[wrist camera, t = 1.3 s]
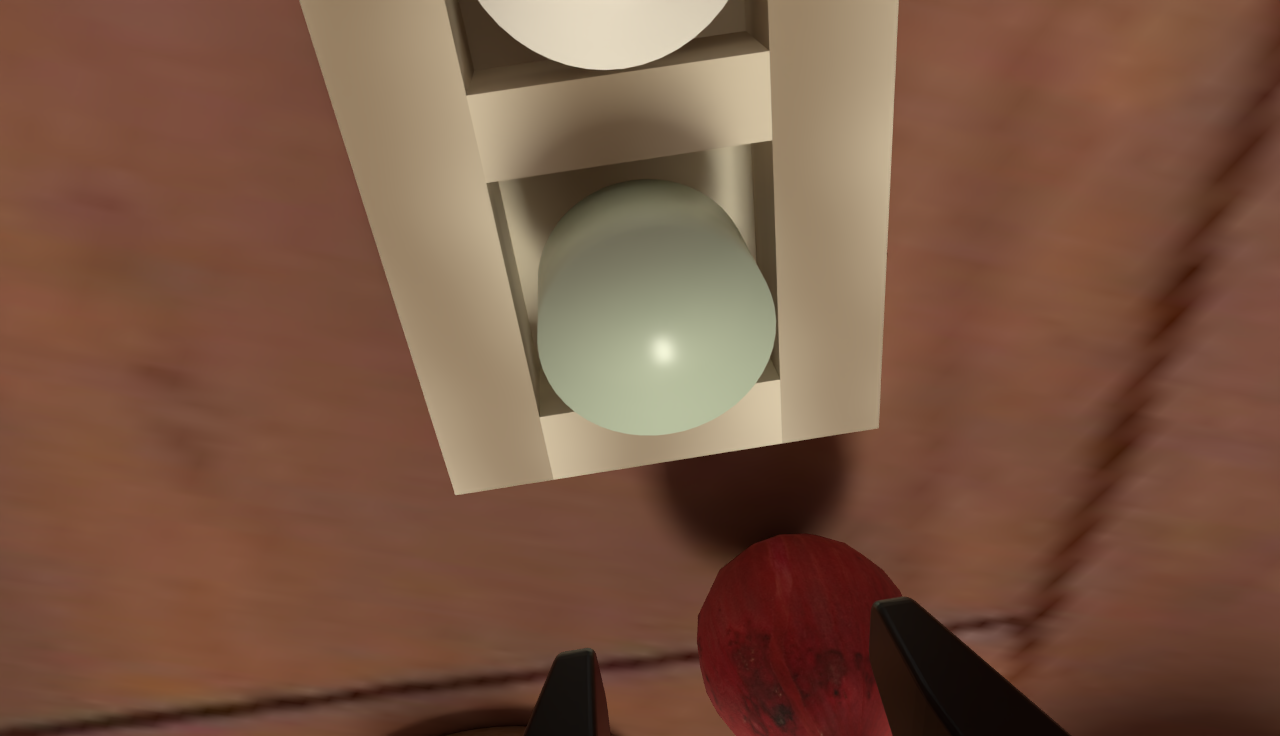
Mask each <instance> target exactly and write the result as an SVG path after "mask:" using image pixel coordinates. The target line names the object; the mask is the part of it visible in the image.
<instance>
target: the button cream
mask: <svg viewBox="0 0 1280 736" xmlns="http://www.w3.org/2000/svg"><path fill="white" fill-rule="evenodd" d="M478 1H479V2H480V4H481V5H482V6H483V8H484V9H485V10H486V11H487V13H488V14H489V15H490V16H491V17H492V18H493V19H494V20H495V21H496V22H497V24H498V25H499V26H500V27H502V28H503V29H504V30H505V31H506V32H507V33H509V34H510V35H511V36H512V37H513V38H514V39H516V40H517V41H519V42H520V43H522V44H523V45H525V46H526V47H528V48H529V49H531V50H532V51H534V52H536V53H538V54H541V55H543V56H545V57H547V58H549V59H551V60H554V61H557V62H560V63H563V64H566V65H569V66H574V67H579V68H585V69H596V70H613V69H625V68H629V67H634V66H639V65H643V64H646V63H649V62H651V61H654V60H657V59H660V58H662V57H664V56H666V55H668V54H670V53H672V52H673V51H675V50H677V49H679V48H680V47H682V46H683V45H685V44H686V43H687V42H689V41H690V40H692V39H693V38H695V37H696V36H697V35H698V34H699V33H700V32H701V31H702V30H703V29H704V28H706V27H707V26H708V25H709V24H710V23H711V21H712V20H713V19H714V18H715V17H716V16H717V14H718V13H719V12H720V11H721V10H722V9H723V7H724V6H725V4H726V3H727V1H728V0H478Z"/></svg>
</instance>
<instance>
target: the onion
mask: <svg viewBox="0 0 1280 736" xmlns="http://www.w3.org/2000/svg"><path fill="white" fill-rule="evenodd" d="M897 597H902V595H901V592H900V590H899V589H898V588H897V587H896V585H895V584H894V583H893V582H892V580H891V579H890V578H889V577H888V576H887V574H886V573H885V572H884V571H883V570H882V569H881V568H880V567H878V566H877V565H876V564H874V563H873V562H872V561H870V560H869V559H868V558H866V557H865V556H864V555H862V554H861V553H859V552H858V551H856V550H855V549H853V548H851V547H850V546H848V545H847V544H845V543H843V542H839V541H835V540H832V539H828V538H825V537H821V536H817V535H811V534H781V535H777V536H774V537H771V538H768V539H766V540H763V541H760V542H757V543H755V544H753V545H751V546H750V547H748V548H747V549H746V550H745V551H743V552H742V553H741V554H739V555H738V556H737V557H736V558H734V559H733V560H732V561H731V562H729V563H728V564H727V565H725V566H724V567H723V568H722V569H720V571H719V573H718V575H717V577H716V579H715V581H714V583H713V585H712V587H711V590H710V592H709V594H708V596H707V598H706V600H705V602H704V604H703V606H702V609H701V611H700V613H699V615H698V631H697V645H698V653H699V660H700V668H701V672H702V676H703V680H704V684H705V688H706V692H707V694H708V696H709V698H710V700H711V702H712V704H713V706H714V707H715V709H716V711H717V713H718V714H719V716H720V717H721V718H722V719H723V720H724V722H725V723H726V724H727V725H728V727H729V728H730V729H731V730H732V731H733V733H734V734H735V735H736V736H892V732H891V729H890V726H889V723H888V719H887V716H886V713H885V710H884V706H883V703H882V700H881V697H880V693H879V690H878V687H877V684H876V680H875V677H874V674H873V670H872V667H871V662H870V656H869V637H870V615H871V607H872V605H873V603H874V602H876V601H878V600H884V599H891V598H897Z"/></svg>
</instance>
